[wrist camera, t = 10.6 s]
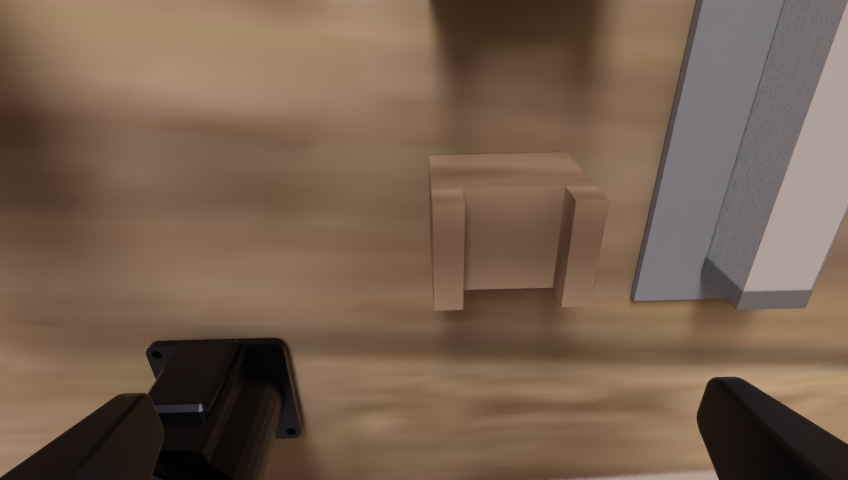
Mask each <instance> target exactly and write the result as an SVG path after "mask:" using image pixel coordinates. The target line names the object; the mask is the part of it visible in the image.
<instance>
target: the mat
mask: <svg viewBox="0 0 848 480" xmlns="http://www.w3.org/2000/svg"><path fill="white" fill-rule="evenodd" d="M784 2H785V0H697V1H696V5H695V10H694V14H693V19H692V23H691V28H690V32H689V37H688V41H687V46H686V50H685V55H684V59H683V64H682V68H681V73H680V77H679V81H678V86H677V90H676V95H675V99H674V104H673V108H672V113H671V117H670V122H669V126H668V131H667V135H666V140H665V144H664V149H663V153H662V157H661V162H660V166H659V171H658V175H657V180H656V184H655V189H654V193H653V198H652V202H651V207H650V211H649V216H648V220H647V225H646V229H645V233H644V238H643V242H642V247H641V251H640V256H639V260H638V265H637V269H636V274H635V278H634V283H633V287H632V292H631V297H632V299H633V300H634V301H652V300H690V299H725V297H724V296H723V295H722V294H721V293H720V292H719V291H718V290H717V289H716V288H715V287H714V286H713V285H712V284H711V283H710V282H709V281H708V280H707V279H706V278H705V277H704V276H703V275H702V274H701V273H700V272H701V269H702V266H703V262H704V259H705V257H707V256H708V252H709V249H710V246H711V242H712V239H713V236H714V232H715V229H716V226H717V223H718V219H719V216H720V213H721V209H722V206H723V203H724V200H725V196H726V193H727V190H728V186H729V183H730V180H731V177H732V173H733V170H734V167H735V163H736V160H737V157H738V153H739V150H740V147H741V144H742V140H743V137H744V134H745V130H746V127H747V124H748V121H749V117H750V114H751V111H752V107H753V104H754V101H755V98H756V94H757V91H758V88H759V84H760V81H761V78H762V74H763V71H764V68H765V65H766V61H767V58H768V55H769V51H770V48H771V45H772V42H773V38H774V35H775V32H776V28H777V25H778V22H779V19H780V15H781V12H782V9H783V5H784ZM847 210H848V207H847V209H846V211H845V213H844V216H843V218H842V220H841V222H840V225H839V227H838V229H837V232H836V234H835V236H834V238H833V241H832V243H831V245H830V247H829V250H828V252H827V254H826V256H825V259H824V261H823V263H822V266H821V268H820V270H819V272H818V275H817V277H816V279H815V281H814V284H813V286H812V288H811V290H813V287H814V285H815V283H816V280H817V278H818V276H819V274H820V271H821V269H822V267H823V265H824V262H825V260H826V258H827V256H828V253H829V251H830V249H831V247H832V244H833V242H834V240H835V237H836V235H837V233H838V231H839V228H840V226H841V224H842V222H843V219H844V217H845V215H846V213H847Z"/></svg>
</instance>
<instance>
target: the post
mask: <svg viewBox="0 0 848 480" xmlns="http://www.w3.org/2000/svg"><path fill="white" fill-rule="evenodd" d="M429 185H430V240H431V261H432V280H433V299H434V311H437V310H463V290H480V289H518V288H553V290H554V292H555V294H556V296H557V299H558V301H559V303H560V305H561V307H587V306H590V305H591V299H592V293H593V288H594V282H595V276H596V271H597V265H598V259H599V254H600V248H601V242H602V237H603V231H604V225H605V220H606V214H607V209H608V203H609V200H608V199H607V197H606V196H605V195H604V194H603V193H602V192H601V191H600V189H599V188H598V187H597V186H596V185H595V184H594V183H593V181H592V180H591V179H590V178H589V177H588V176H587V175H586V173H585V172H584V171H583V170H582V169H581V168H580V167H579V165H578V164H577V163H576V162H575V161H574V160H573V159H572V157H571V156H570V155H569V154H568V153H567V152H538V153H500V154H462V155H429Z"/></svg>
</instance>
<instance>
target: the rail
mask: <svg viewBox="0 0 848 480" xmlns="http://www.w3.org/2000/svg"><path fill="white" fill-rule="evenodd" d="M847 207H848V0H785V2H784V5H783V9H782V12H781V15H780V19H779V22H778V25H777V28H776V32H775V35H774V38H773V42H772V45H771V48H770V51H769V55H768V58H767V61H766V65H765V68H764V71H763V74H762V78H761V81H760V84H759V88H758V91H757V94H756V98H755V101H754V104H753V107H752V111H751V114H750V117H749V121H748V124H747V127H746V130H745V134H744V137H743V140H742V144H741V147H740V150H739V153H738V157H737V160H736V163H735V167H734V170H733V173H732V177H731V180H730V183H729V186H728V190H727V193H726V196H725V200H724V203H723V206H722V209H721V213H720V216H719V219H718V223H717V226H716V229H715V232H714V236H713V239H712V242H711V246H710V249H709V252H708V256H707V257H705V259H704V262H703V266H702V269H701V272H700V273H701V274H702V275H703V276H704V277H705V278H706V279H707V280H708V281H709V282H710V283H711V284H712V285H713V286H714V287H715V288H716V289H717V290H718V291H719V292H720V293H721V294H722V295H723V296H724V297H725V299H726V300H727V301H728V302H729V303H730V304H731V305H732V306H733V307H734V308H735V309H736V310H746V309H785V308H806V305H807V303H808V301H809V299H810V296H811V294H812V292H813V291H812V290H811V288H812V286H813V284H814V281H815V279H816V277H817V275H818V272H819V270H820V268H821V266H822V263H823V261H824V259H825V256H826V254H827V252H828V250H829V247H830V245H831V243H832V241H833V238H834V236H835V234H836V232H837V229H838V227H839V225H840V222H841V220H842V218H843V216H844V213H845V211H846V209H847Z"/></svg>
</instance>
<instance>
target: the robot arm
mask: <svg viewBox="0 0 848 480" xmlns="http://www.w3.org/2000/svg"><path fill="white" fill-rule="evenodd" d="M271 348H276V349H277V350H273V349H271ZM157 351H159V352H161V353H159V352H157ZM146 356H147V358H148V361H149V363H150V366H151V368H152V371H153V373H154V376H155V378H156V381H155V383H154V384H153V386H152V387H151V389H150V390H149V392H148V393H147V394H146V393H124V394H120V395H118V396H116V397H114V398H113V399H111V400H110V401H108V402H107V403H106V404H104V405H103V406H101V407H100V408H98V409H97V410H96V411H94V412H93V413H91V414H90V415H89V416H87V417H86V418H84V419H83V420H81V421H80V422H79V423H77V424H76V425H74V426H73V427H71V428H70V429H69V430H67V431H66V432H64V433H63V434H62V435H60V436H59V437H57V438H56V439H54V440H53V441H52V442H50V443H49V444H47V445H46V446H44V447H43V448H42V449H40V450H39V451H37V452H36V453H34V454H33V455H32V456H30V457H29V458H27V459H26V460H25V461H23V462H22V463H20V464H19V465H17V466H16V467H15V468H13V469H12V470H10V471H9V472H7V473H6V474H5V475H3V476H2V477H0V480H262V479H263V476H264V473H265V469H266V466H267V463H268V460H269V456H270V453H271V450H272V447H273V443H274V440H275V438H296V437H298V436H299V435H300V434H301V430H302V421H301V416H300V412H299V407H298V402H297V397H296V392H295V388H294V383H293V378H292V373H291V368H290V364H289V359H288V354H287V349H286V345H285V343H284V342H283V341H282V340H280V339H278V338H255V339H218V340H181V341H156V342H153V343H152V344H151V345H150V346H149V348H148V349H147V351H146ZM697 424H698V428H699V431H700V433H701V436H702V438H703V441H704V443H705V446H706V448H707V451H708V453H709V456H710V458H711V461H712V463H713V466H714V468H715V471H716V474H717V476H718V478H719V480H848V444H847V443H845V442H843V441H842V440H840V439H839V438H837V437H835V436H834V435H832V434H830V433H829V432H827V431H826V430H824V429H822V428H821V427H819V426H818V425H816V424H814V423H813V422H811V421H810V420H808V419H806V418H805V417H803V416H801V415H800V414H798V413H797V412H795V411H793V410H792V409H790V408H789V407H787V406H785V405H784V404H782V403H780V402H779V401H777V400H776V399H774V398H772V397H771V396H769V395H768V394H766V393H764V392H763V391H761V390H760V389H758V388H756V387H755V386H753V385H751V384H750V383H748V382H747V381H745V380H743V379H741V378H738V377H715V378H712V379H711V380H710V381H708V383H707V386H706V389H705V392H704V394H703V397H702V400H701V403H700V406H699V408H698V412H697ZM292 428H293V429H292Z"/></svg>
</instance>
